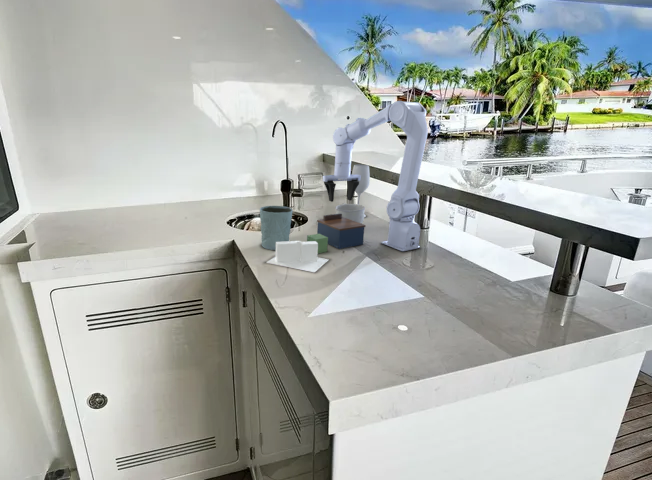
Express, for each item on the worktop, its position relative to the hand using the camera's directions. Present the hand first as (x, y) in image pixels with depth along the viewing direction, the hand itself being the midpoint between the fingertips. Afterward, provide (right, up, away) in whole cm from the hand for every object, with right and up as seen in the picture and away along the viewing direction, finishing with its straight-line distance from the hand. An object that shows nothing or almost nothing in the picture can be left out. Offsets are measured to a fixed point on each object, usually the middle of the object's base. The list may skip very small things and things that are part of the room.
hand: (340, 200), depth 140 cm
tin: (-2, -15, -14) cm, 21 cm away
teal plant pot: (-23, -17, -19) cm, 35 cm away
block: (-10, -18, -23) cm, 31 cm away
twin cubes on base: (-17, -22, -32) cm, 42 cm away
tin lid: (-2, -10, -16) cm, 19 cm away
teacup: (+4, -9, +5) cm, 11 cm away
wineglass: (+10, -4, +21) cm, 23 cm away
